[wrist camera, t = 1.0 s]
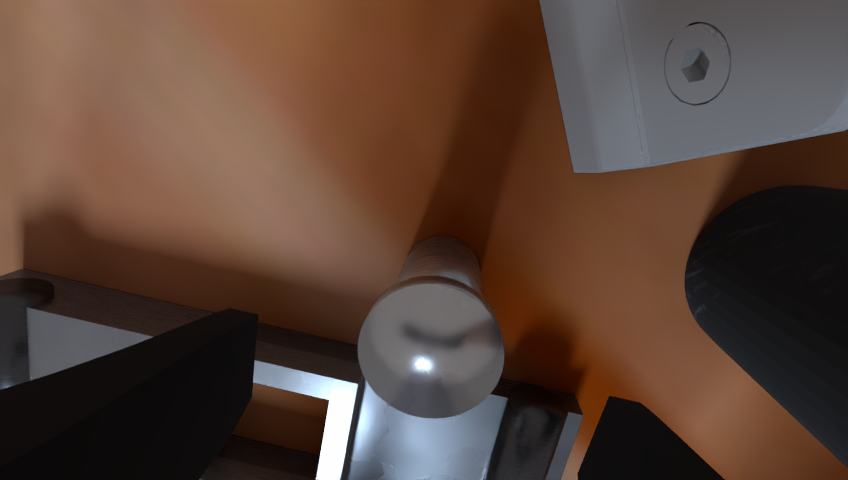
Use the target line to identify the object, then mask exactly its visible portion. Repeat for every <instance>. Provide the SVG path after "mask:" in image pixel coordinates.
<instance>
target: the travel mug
mask: <svg viewBox="0 0 848 480" xmlns="http://www.w3.org/2000/svg"><path fill="white" fill-rule="evenodd" d="M685 292H686V298H687V301H688V305H689V308H690V310H691V312H692V314H693V316H694V318H695V320H696V321H697V323H698V324H699V326H700V327H701V328H702V329H703V330H704V331H705V332H706V333H707V335H708V336H709V337H710V338H711V339H712V340H713V341H714V342H715V343H716V344H717V345H718V346H719V347H720V348H721V349H722V350H723V351H724V352H725V353H726V354H728V355H729V356H730V357H731V358H732V359H733V360H734V361H735V362H736V363H737V364H738V365H739V366H740V367H741V368H742V369H743V370H744V371H746V372H747V373H748V374H749V375H750V376H751V377H752V378H753V379H754V380H755V381H756V382H757V383H758V384H759V385H760V386H761V387H762V388H764V389H765V390H766V391H767V392H768V393H769V394H770V395H771V396H772V397H773V398H774V399H775V400H776V401H777V402H778V403H779V404H780V405H782V406H783V407H784V408H785V409H786V410H787V411H788V412H789V413H790V414H791V415H792V416H793V417H794V418H795V419H796V420H797V421H798V422H800V423H801V424H802V425H803V426H804V427H805V428H806V429H807V430H808V431H809V432H810V433H811V434H812V435H813V436H814V437H815V438H817V439H818V440H819V441H820V442H821V443H822V444H823V445H824V446H825V447H826V448H827V449H828V450H829V451H830V452H831V453H832V454H833V455H835V456H836V457H837V458H838V459H839V460H840V461H841V462H842V463H843V464H844V465H845V466H846V467H847V468H848V190H842V189H834V188H825V187H816V186H784V187H777V188H773V189H768V190H764V191H761V192H758V193H755V194H753V195H750V196H748V197H746V198H744V199H742V200H740V201H738V202H736V203H735V204H733V205H731V206H730V207H728V208H727V209H726V210H724V211H723V212H722V213H721V214H719V215H718V216H717V217H716V218H715V219H714V220H713V221H712V222H711V223H710V224H709V225H708V226H707V228H706V229H705V230H704V231H703V233H702V234H701V235H700V237H699V238H698V240H697V242H696V243H695V245H694V247H693V250H692V252H691V254H690V257H689V260H688V263H687V267H686V273H685Z"/></svg>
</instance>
